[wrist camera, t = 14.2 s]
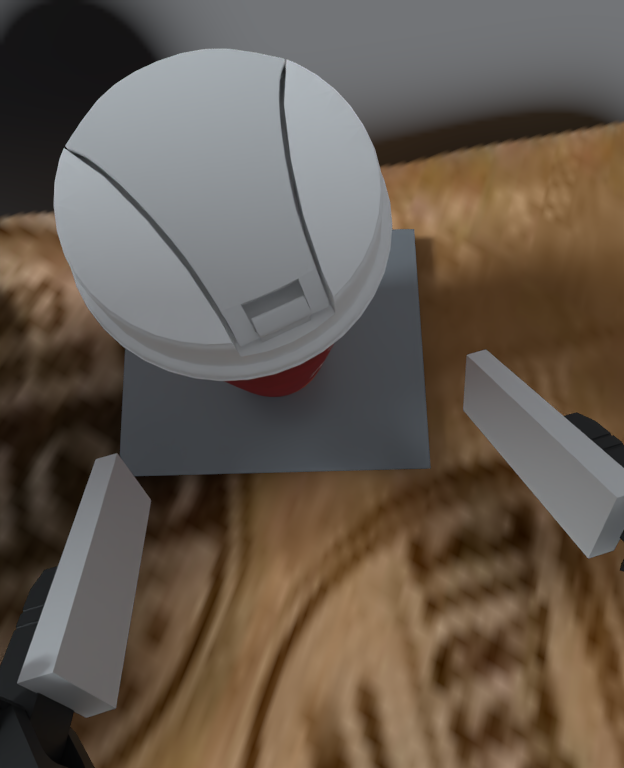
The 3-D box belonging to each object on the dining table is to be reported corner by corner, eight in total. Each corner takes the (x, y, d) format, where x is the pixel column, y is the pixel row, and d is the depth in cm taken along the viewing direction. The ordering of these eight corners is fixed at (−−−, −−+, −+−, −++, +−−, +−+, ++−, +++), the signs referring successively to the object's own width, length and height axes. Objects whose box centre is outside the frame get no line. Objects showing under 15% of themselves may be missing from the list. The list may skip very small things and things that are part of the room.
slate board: (130, 474, 23) (118, 476, 22) (140, 245, 26) (130, 233, 24) (422, 466, 24) (430, 468, 22) (407, 241, 26) (414, 229, 24)
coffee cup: (365, 380, 23) (474, 269, 8) (240, 440, 22) (109, 438, 8) (305, 261, 24) (304, -28, 9) (184, 315, 23) (-28, 98, 9)
